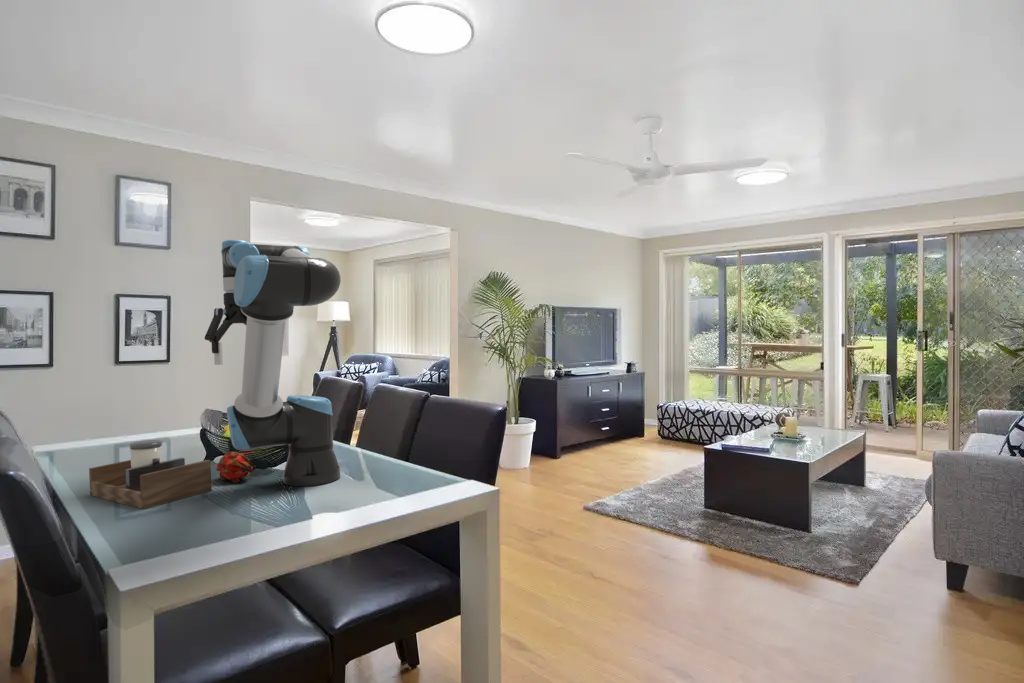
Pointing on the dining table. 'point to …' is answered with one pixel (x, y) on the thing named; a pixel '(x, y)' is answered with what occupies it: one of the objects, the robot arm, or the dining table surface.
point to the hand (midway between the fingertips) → (239, 363)
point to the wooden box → (150, 483)
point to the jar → (145, 452)
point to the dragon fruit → (234, 466)
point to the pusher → (149, 471)
